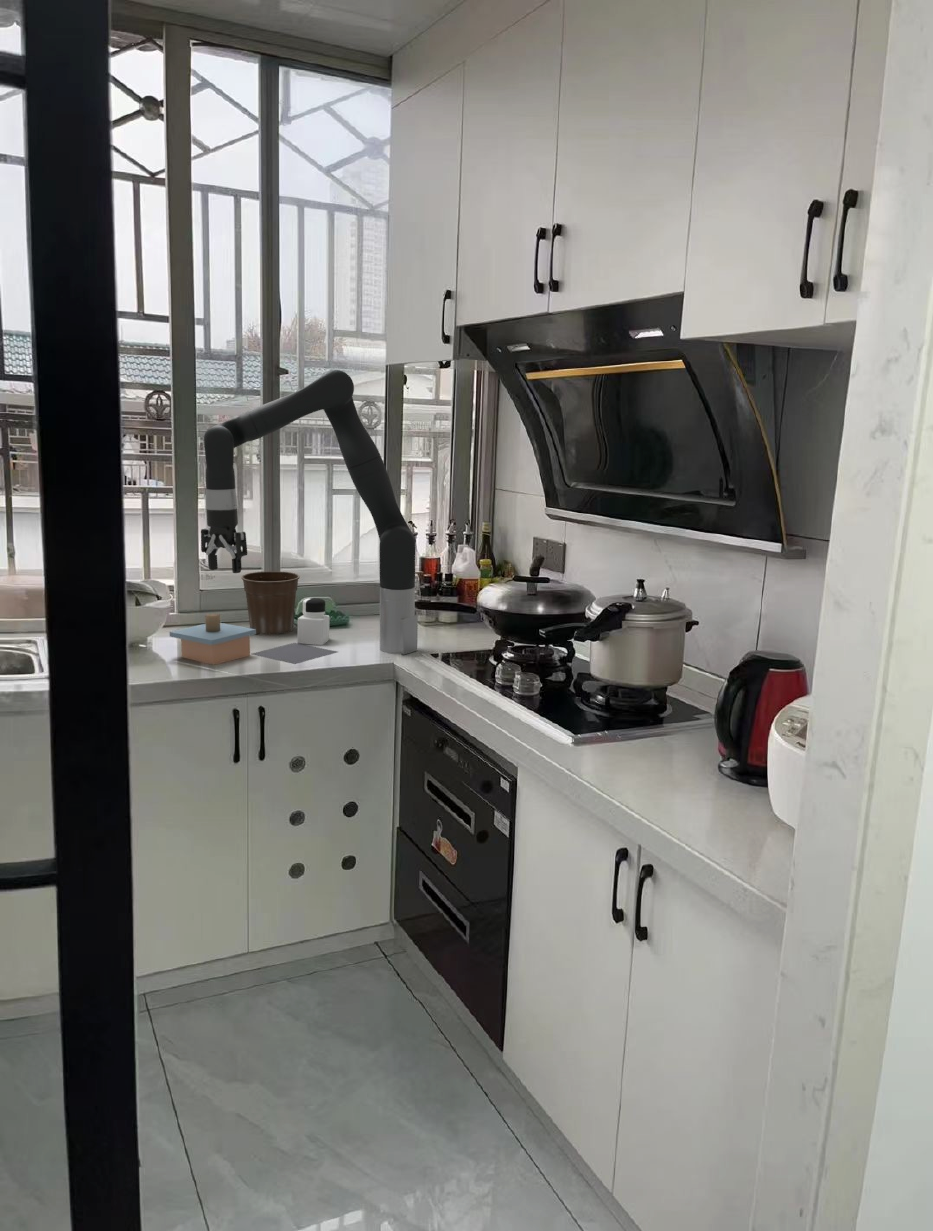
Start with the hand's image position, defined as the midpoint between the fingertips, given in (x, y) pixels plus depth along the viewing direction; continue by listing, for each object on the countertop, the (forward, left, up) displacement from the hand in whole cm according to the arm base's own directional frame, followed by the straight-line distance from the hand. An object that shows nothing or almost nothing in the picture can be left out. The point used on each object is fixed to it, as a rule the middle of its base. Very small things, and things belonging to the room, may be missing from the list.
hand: (224, 571), depth 245 cm
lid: (+1, +4, -16) cm, 17 cm away
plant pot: (+12, -27, -22) cm, 37 cm away
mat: (-12, -12, -22) cm, 28 cm away
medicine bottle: (-7, -24, -22) cm, 33 cm away
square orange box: (+1, +3, -22) cm, 22 cm away
